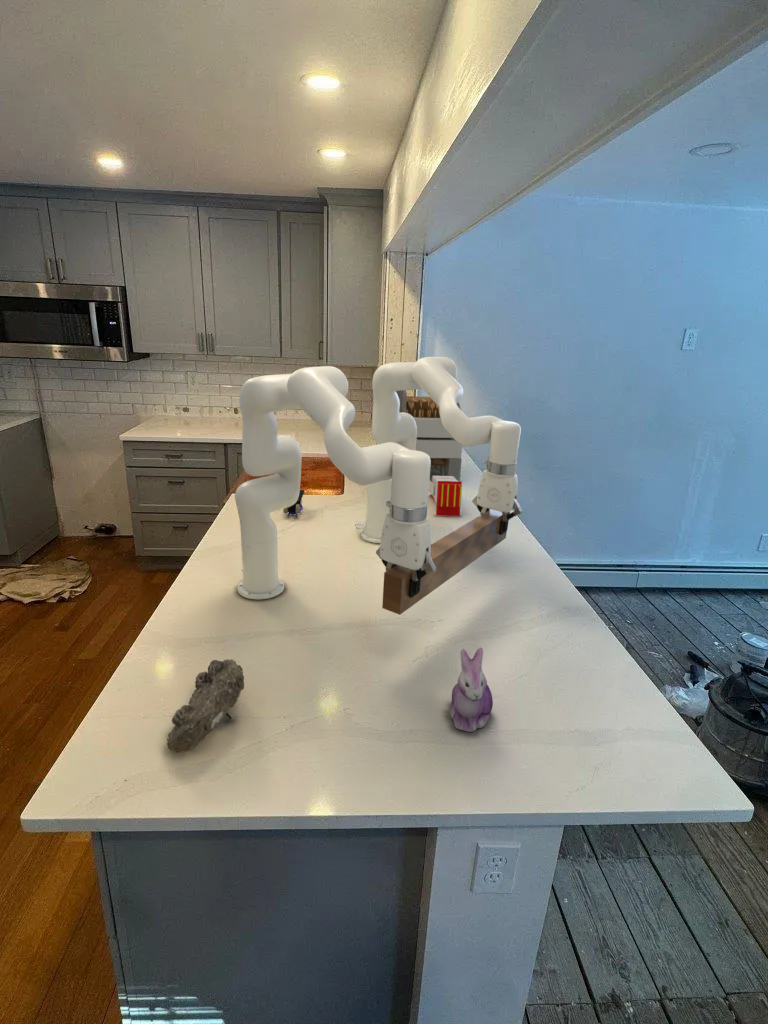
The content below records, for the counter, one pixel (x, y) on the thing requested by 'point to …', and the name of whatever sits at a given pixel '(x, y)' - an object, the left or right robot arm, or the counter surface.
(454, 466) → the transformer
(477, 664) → the figurine
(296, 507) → the figurine character
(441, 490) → the red striped box
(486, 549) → the bar
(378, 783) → the counter surface
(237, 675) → the fossil
